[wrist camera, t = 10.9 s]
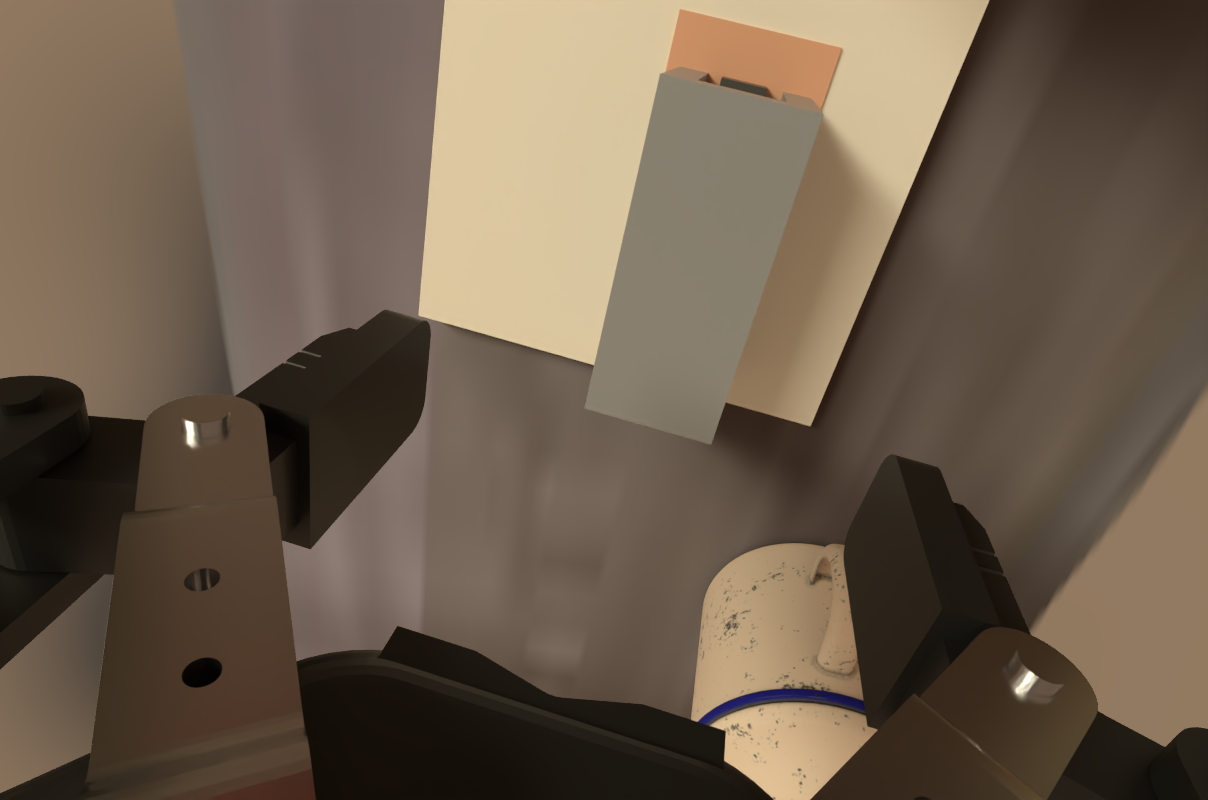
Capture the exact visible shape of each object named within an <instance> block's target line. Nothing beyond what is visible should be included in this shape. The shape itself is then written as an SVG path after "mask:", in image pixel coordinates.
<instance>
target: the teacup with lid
mask: <svg viewBox="0 0 1208 800" xmlns="http://www.w3.org/2000/svg"><path fill="white" fill-rule="evenodd" d="M844 547H845V545H841V544H829V545H827V546H826V547H824V546H819V545H813V544H804V543H784V544H775V545H770V546H765V547H761V548H758V549H755V550H752V551H750V552H747V553H745V554H743V555H741V556H739V557H737V558H736V559H734V560H733V561H731V562H730V563H729V564H727V565H726V566H725V567H724V568H723V569H722V570H721V571H720V572H719V573H718V574H717V575H716V577H715V578H714V579H713V581H712V582H711V584H710V586H709V588H708V590H707V593H706V596H705V599H704V604H703V612H702V622H701V631H700V640H699V650H698V659H697V669H696V678H695V688H694V697H693V706H692V716H691V720H693V721H696V722H699V723H702V724H705V725H709V726H712V727H715V728H718V729H721V730H724V731H726V737H725V754H724V761H725V762H727V763H729V764H730V765H732V766H734V767H735V768H737V769H738V770H739V771H741V772H742V773H743V774H745V775H746V776H747V777H749V778H750V779H751V780H753V781H754V782H755V783H756V784H757V785H759V786H760V787H761V788H762V789H763V790H764V791H765V792H766V793H767V794H769V795H770V796H771V797H772V798H773V799H774V800H810V799H811V798H812V797H813V796H814V795H815V794H816V793H817V792H818V791H819V790H820V789H821V788H822V787H823V786H824V785H825V784H826V783H827V782H828V781H829V780H830V779H831V778H832V777H833V776H834V775H835V774H836V772H837V771H838V770H839V769H840V768H841V767H842V766H843V765H844V764H845V763H846V762H847V761H848V760H849V759H850V758H851V757H852V756H853V755H854V754H855V753H856V752H857V751H858V750H859V749H860V748H861V747H862V746H863V745H864V744H865V743H866V742H867V741H868V739H869V738H870V737H871V736H872V735H873V734H874V733H875V732H876V731H877V729H874V728H871V727H868V726H867V721H866V714H865V707H864V700H863V693H862V686H861V679H860V672H859V665H858V658H857V651H856V644H855V637H854V630H853V623H852V616H851V610H850V603H849V596H848V589H847V582H846V575H845V568H844Z"/></svg>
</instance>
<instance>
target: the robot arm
mask: <svg viewBox="0 0 1208 800" xmlns="http://www.w3.org/2000/svg"><path fill="white" fill-rule="evenodd" d="M430 337H431V330H430V325H429V323H428V322H427V321H425V320H421V319H418V318H414V317H410V316H407V315H403V314H400V313H396V312H393V311H389V310H383V311H382V312H380V313H379V314H378V315H376V316H375V317H374V318H372V319H371V320H369V321H368V322H367V323H365V324H364V325H363V326H361V327H360V328H359V329H357V330H355V329H352V328H347V329H343V330H340V331H337V332H333V333H330V334H327V335H323V336H321V337H319V338H318V339H316V340H315V341H314V342H312V343H311V344H309V345H308V346H306V347H305V348H304V349H302V352H301V353H300V352H298V353H296V354H295V355H293V356H292V357H291V358H289V359H288V360H287V361H286V364H284V363H282V364H281V365H279V366H278V367H276V368H275V369H273V370H272V371H271V372H269V373H268V374H266V375H265V376H263V377H262V378H260V379H259V380H258V381H256V382H255V383H253V384H252V385H250V386H249V387H248V388H246V389H245V390H243V391H242V392H240V393H239V394H238V395H236V396H229V395H223V394H202V395H193V396H188V397H184V398H179V399H176V400H173V401H170V402H168V403H166V404H164V405H162V406H160V407H158V408H157V409H156V410H154V411H153V412H152V413H151V414H150V415H149V416H148V417H147V419H146V420H145V421H144V420H132V419H120V418H108V417H96V416H88V414H87V409H86V404H85V398H84V395H83V392H82V390H81V389H80V388H79V387H78V386H76V385H75V384H73V383H71V382H69V381H66V380H63V379H59V378H54V377H46V376H17V377H8V378H2V379H0V669H1V668H2V667H3V666H4V665H6V664H7V663H8V662H9V661H10V660H11V659H12V658H13V657H14V656H15V655H16V654H18V653H19V652H20V651H21V650H22V649H23V648H24V647H25V646H26V645H27V644H28V643H30V642H31V641H32V640H33V639H34V638H35V637H36V636H37V635H38V634H40V632H42V631H43V630H44V629H45V628H46V627H47V626H48V625H49V624H50V623H52V622H53V621H54V620H55V619H56V618H57V617H58V616H59V615H60V614H61V613H63V612H64V611H65V610H66V609H67V608H68V607H69V606H70V605H71V604H72V603H73V602H75V601H76V600H77V599H78V598H79V597H80V596H81V595H82V594H83V593H84V592H86V590H88V589H89V588H90V587H91V586H92V585H93V584H94V583H95V582H97V581H98V580H99V579H100V578H101V577H102V576H103V575H104V574H113V575H114V576H113V584H112V592H111V599H110V607H109V615H108V622H107V630H106V638H105V645H104V653H103V661H102V669H101V676H100V684H99V692H98V699H97V707H96V714H95V722H94V730H93V737H92V745H91V753H89V754H87V755H85V756H82V757H80V758H78V759H76V760H73V761H71V762H69V763H67V764H64V765H62V766H60V767H58V768H56V769H53V770H51V771H49V772H47V773H45V774H42V775H40V776H38V777H36V778H33V779H31V780H29V781H27V782H24V783H22V784H20V785H18V786H16V787H13V788H11V789H9V790H7V791H4V792H2V793H0V800H774V799H773V798H772V797H771V796H770V795H769V794H767V793H766V792H765V791H764V790H763V789H762V788H761V787H760V786H759V785H757V784H756V783H755V782H754V781H753V780H751V779H750V778H749V777H747V776H746V775H745V774H743V773H742V772H741V771H739V770H738V769H737V768H735V767H734V766H732V765H730V764H729V763H727V762H725V761H724V754H725V737H726V731H724V730H721V729H718V728H715V727H712V726H709V725H705V724H702V723H699V722H696V721H693V720H690V719H687V718H684V717H680V716H677V715H674V714H671V713H668V712H665V711H662V710H659V709H655V708H652V707H649V706H646V705H643V704H631V703H619V702H607V701H595V700H583V699H571V698H560V697H555V696H552V695H549V694H547V693H545V692H543V691H542V690H540V689H538V688H537V687H535V686H533V685H532V684H530V683H528V682H527V681H525V680H523V679H522V678H520V677H518V676H517V675H515V674H513V673H512V672H510V671H508V670H507V669H505V668H503V667H502V666H500V665H498V664H497V663H495V662H493V661H492V660H490V659H488V658H487V657H485V656H483V655H482V654H480V653H478V652H477V651H474V650H471V649H468V648H465V647H462V646H458V645H455V644H452V643H449V642H446V641H443V640H440V639H437V638H433V637H430V636H427V635H424V634H421V633H418V632H415V631H412V630H408V629H405V628H402V627H399V626H397V628H396V629H395V631H394V633H393V634H392V636H391V637H390V639H389V641H388V642H387V644H386V646H385V647H384V649H383V650H350V651H342V652H334V653H327V654H323V655H318V656H314V657H310V658H306V659H303V660H300V661H297V662H296V654H295V646H294V638H293V629H292V621H291V613H290V605H289V596H288V588H287V580H286V572H285V563H284V555H283V547H282V540H283V541H286V542H289V543H293V544H296V545H299V546H302V547H305V548H308V549H311V548H312V547H313V546H314V545H315V543H316V542H317V541H318V540H319V539H320V538H321V536H322V535H323V534H324V533H325V532H326V531H327V530H328V528H329V527H330V526H331V525H332V524H333V523H334V522H335V520H336V519H337V518H338V517H339V516H340V515H341V514H342V512H343V511H344V510H345V509H346V508H347V507H348V506H349V504H350V503H351V502H352V501H353V500H354V499H355V497H356V496H357V495H358V494H359V493H360V492H361V491H362V489H363V488H364V487H365V486H366V485H367V484H368V483H369V481H370V480H371V479H372V478H373V477H374V476H375V475H376V473H377V472H378V471H379V470H380V469H381V468H382V466H383V465H384V464H385V463H386V462H387V461H388V460H389V458H390V457H391V456H392V455H393V454H394V453H395V452H396V450H397V449H398V448H399V447H400V446H401V445H402V444H403V442H404V441H405V440H406V439H407V438H408V437H409V436H410V434H411V433H412V432H413V431H414V429H415V427H416V426H417V424H418V421H419V419H420V417H421V414H422V411H423V407H424V402H425V394H426V382H427V371H428V360H429V349H430ZM994 553H995V551H994V549H993V547H992V544H991V542H990V540H989V538H988V535H987V533H986V531H985V529H984V528H983V527H982V525H981V524H980V523H979V522H978V521H977V520H976V519H975V518H974V517H973V516H972V514H971V513H970V512H969V511H968V510H967V509H966V508H965V507H964V506H963V505H960V504H957V503H953V501H952V499H951V496H950V494H949V491H948V489H947V486H946V483H945V481H944V478H943V476H942V473H941V471H940V469H939V468H938V467H935V466H932V465H928V464H925V463H921V462H918V461H914V460H911V459H907V458H903V457H900V456H896V455H889V456H888V457H887V458H886V459H885V460H884V461H883V463H882V464H881V466H880V468H879V470H878V472H877V474H876V476H875V478H874V480H873V482H872V484H871V486H870V488H869V490H868V492H867V494H866V496H865V498H864V500H863V502H862V504H861V506H860V508H859V510H858V512H857V514H856V516H855V518H854V520H853V522H852V524H851V526H850V529H849V531H848V534H847V538H846V542H845V547H844V568H845V575H846V582H847V589H848V596H849V603H850V610H851V616H852V623H853V630H854V637H855V644H856V651H857V658H858V665H859V672H860V679H861V686H862V693H863V700H864V707H865V714H866V721H867V726H868V727H871V728H874V729H877V731H876V732H875V733H874V734H873V735H872V736H871V737H870V738H869V739H868V741H867V742H866V743H865V744H864V745H863V746H862V747H861V748H860V749H859V750H858V751H857V752H856V753H855V754H854V755H853V756H852V757H851V758H850V759H849V760H848V761H847V762H846V763H845V764H844V765H843V766H842V767H841V768H840V769H839V770H838V771H837V772H836V774H835V775H834V776H833V777H832V778H831V779H830V780H829V781H828V782H827V783H826V784H825V785H824V786H823V787H822V788H821V789H820V790H819V791H818V792H817V793H816V794H815V795H814V796H813V797H812V798H811V799H810V800H1208V729H1205V728H1198V727H1197V728H1196V727H1195V728H1187V729H1184V730H1183V731H1181V732H1180V733H1179V734H1178V735H1177V736H1176V737H1175V738H1174V739H1173V740H1172V741H1171V742H1170V743H1169V744H1168V745H1167V746H1166V747H1164V746H1161V745H1160V744H1158V743H1156V742H1154V741H1152V740H1150V739H1148V738H1147V737H1145V736H1143V735H1141V734H1139V733H1137V732H1135V731H1133V730H1132V729H1130V728H1128V727H1126V726H1124V725H1122V724H1120V723H1118V722H1116V721H1115V720H1113V719H1111V718H1109V717H1107V716H1105V715H1104V714H1102V713H1100V712H1099V711H1098V703H1097V699H1096V696H1095V694H1094V691H1093V689H1092V687H1091V686H1090V684H1089V682H1088V681H1087V679H1086V678H1085V677H1084V676H1083V674H1082V673H1081V672H1080V671H1079V670H1078V669H1077V668H1076V666H1075V665H1074V664H1073V663H1071V662H1070V661H1069V660H1068V659H1067V658H1066V657H1065V656H1064V655H1062V654H1061V653H1059V652H1058V651H1057V650H1056V649H1054V648H1052V647H1051V646H1050V645H1048V644H1047V643H1045V642H1043V641H1041V640H1040V639H1038V638H1036V637H1034V636H1032V635H1031V634H1030V632H1029V630H1028V627H1027V625H1026V623H1025V621H1024V618H1023V616H1022V614H1021V611H1020V609H1019V607H1018V604H1017V602H1016V600H1015V598H1014V595H1013V593H1012V591H1011V588H1010V586H1009V584H1008V581H1007V579H1006V577H1004V576H1002V574H1003V570H1002V568H1001V565H1000V563H999V561H998V558H997V557H995V556H994Z"/></svg>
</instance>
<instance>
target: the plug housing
mask: <svg viewBox="0 0 1208 800" xmlns="http://www.w3.org/2000/svg"><path fill="white" fill-rule="evenodd" d="M707 76H708V73H705V72H701V71H697V70H693V69H689V68H685V67H681V66H680V67H677V68H675V69H672V70H669V71H666V72H663V73H660V76H659V81H658V85H657V90H656V94H655V98H654V103H653V107H652V112H651V116H650V120H649V125H648V129H647V134H646V138H645V143H644V147H643V151H642V156H641V160H640V165H639V169H638V174H637V178H636V182H635V187H634V191H633V196H632V200H631V205H630V209H629V213H628V218H627V222H626V227H625V231H624V235H623V240H622V244H621V249H620V253H619V258H618V262H617V266H616V271H615V275H614V280H613V284H612V289H611V293H610V297H609V302H608V306H607V311H606V315H605V320H604V324H603V328H602V333H601V337H600V342H599V346H598V350H597V355H596V359H595V364H594V368H593V373H592V377H591V381H590V386H589V390H588V395H587V399H586V404H585V409H589V410H592V411H596V412H599V413H603V414H606V415H609V416H613V417H616V418H620V419H623V420H627V421H630V422H634V423H637V424H641V425H644V426H648V427H651V428H655V429H658V430H662V431H665V432H669V433H672V434H675V435H679V436H682V437H686V438H689V439H693V440H696V441H700V442H703V443H707V444H710V445H711V444H712V441H713V438H714V435H715V432H716V429H717V426H718V423H719V420H720V417H721V414H722V411H723V408H724V406H725V403H726V400H727V397H728V394H729V391H730V388H731V385H732V382H733V379H734V376H735V373H736V370H737V367H738V364H739V362H740V359H741V356H742V353H743V350H744V347H745V344H746V341H747V338H748V335H749V332H750V329H751V326H752V323H753V320H754V318H755V315H756V312H757V309H758V306H759V303H760V300H761V297H762V294H763V291H764V288H765V285H766V282H767V279H768V277H769V274H770V271H771V268H772V265H773V262H774V259H775V256H776V253H777V250H778V247H779V244H780V241H781V238H782V235H783V233H784V230H785V227H786V224H787V221H788V218H789V215H790V212H791V209H792V206H793V203H794V200H795V197H796V194H797V191H798V189H799V186H800V183H801V180H802V177H803V174H804V171H805V168H806V165H807V162H808V159H809V156H810V153H811V150H812V147H813V145H814V142H815V139H816V136H817V133H818V130H819V127H820V124H821V121H822V118H823V115H824V114H823V112H822V111H821V110H820V109H819V107H818V106H817V105H816V104H815V102H814V101H813V100H812V99H811V98H807V97H803V96H799V95H795V94H791V93H787V92H783V94H782V97H781V100H777V99H772V98H768V97H764V96H760V95H756V94H752V93H748V92H744V91H740V90H736V89H732V88H728V87H724V86H720V85H716V84H712V83H708V82H706V80H707Z"/></svg>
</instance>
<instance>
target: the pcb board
mask: <svg viewBox="0 0 1208 800" xmlns="http://www.w3.org/2000/svg"><path fill="white" fill-rule="evenodd" d="M988 3H989V0H445V6H444V18H443V30H442V42H441V54H440V66H439V77H438V89H437V101H436V113H435V125H434V137H433V149H432V161H431V173H430V185H429V197H428V209H427V221H426V233H425V245H424V257H423V269H422V281H421V293H420V305H419V316H422V317H426V318H429V319H433V320H437V321H440V322H444V323H447V324H451V325H454V326H458V327H461V328H465V329H468V330H472V331H475V332H479V333H482V334H486V335H489V336H493V337H497V338H500V339H504V340H507V341H511V342H514V343H518V344H521V345H525V346H528V347H532V348H535V349H539V350H542V351H546V352H549V353H553V354H557V355H560V356H564V357H567V358H571V359H574V360H578V361H581V362H585V363H588V364H592V365H594V364H595V359H596V355H597V350H598V346H599V342H600V337H601V333H602V328H603V324H604V320H605V315H606V311H607V306H608V302H609V297H610V293H611V289H612V284H613V280H614V275H615V271H616V266H617V262H618V258H619V253H620V249H621V244H622V240H623V235H624V231H625V227H626V222H627V218H628V213H629V209H630V205H631V200H632V196H633V191H634V187H635V182H636V178H637V174H638V169H639V165H640V160H641V156H642V151H643V147H644V143H645V138H646V134H647V129H648V125H649V120H650V116H651V112H652V107H653V103H654V98H655V94H656V90H657V85H658V81H659V76H660V73H663V72H666V71H669V70H672V69H675V68H677V67H680V66H681V67H685V68H689V69H693V70H697V71H701V72H705V73H708V76H707V80H706V82H708V83H712V84H716V85H720V82H721V78H722V77H723V76H725V77H729V78H733V79H737V80H741V81H745V82H749V83H753V84H757V85H761V86H765V87H767V91H766V94H765V97H768V98H772V99H777V100H781V97H782V94H783V92H787V93H791V94H795V95H799V96H803V97H807V98H811V99H812V100H813V101H814V102H815V104H816V105H817V106H818V107H819V109H820V110H821V111H822V112H823V114H824V115H823V118H822V121H821V124H820V127H819V130H818V133H817V136H816V139H815V142H814V145H813V147H812V150H811V153H810V156H809V159H808V162H807V165H806V168H805V171H804V174H803V177H802V180H801V183H800V186H799V189H798V191H797V194H796V197H795V200H794V203H793V206H792V209H791V212H790V215H789V218H788V221H787V224H786V227H785V230H784V233H783V235H782V238H781V241H780V244H779V247H778V250H777V253H776V256H775V259H774V262H773V265H772V268H771V271H770V274H769V277H768V279H767V282H766V285H765V288H764V291H763V294H762V297H761V300H760V303H759V306H758V309H757V312H756V315H755V318H754V320H753V323H752V326H751V329H750V332H749V335H748V338H747V341H746V344H745V347H744V350H743V353H742V356H741V359H740V362H739V364H738V367H737V370H736V373H735V376H734V379H733V382H732V385H731V388H730V391H729V394H728V397H727V400H726V403H730V404H733V405H737V406H740V407H744V408H747V409H751V410H754V411H758V412H761V413H765V414H768V415H772V416H775V417H779V418H783V419H786V420H790V421H793V422H797V423H800V424H804V425H807V426H811V424H812V422H813V419H814V417H815V415H816V412H817V410H818V407H819V405H820V403H821V400H822V398H823V396H824V393H825V391H826V388H827V386H828V384H829V381H830V379H831V376H832V374H833V372H834V369H835V367H836V365H837V362H838V360H839V357H840V355H841V353H842V350H843V348H844V346H845V343H846V341H847V338H848V336H849V334H850V331H851V329H852V326H853V324H854V322H855V319H856V317H857V315H858V312H859V310H860V307H861V305H862V303H863V300H864V298H865V296H866V293H867V291H868V288H869V286H870V284H871V281H872V279H873V276H874V274H875V272H876V269H877V267H878V265H879V262H880V260H881V257H882V255H883V253H884V250H885V248H886V246H887V243H888V241H889V238H890V236H891V234H892V231H893V229H894V226H895V224H896V222H897V219H898V217H899V215H900V212H901V210H902V207H903V205H904V203H905V200H906V198H907V195H908V193H909V191H910V188H911V186H912V184H913V181H914V179H915V176H916V174H917V172H918V169H919V167H920V165H921V162H922V160H923V157H924V155H925V153H926V150H927V148H928V145H929V143H930V141H931V138H932V136H933V134H934V131H935V129H936V126H937V124H938V122H939V119H940V117H941V115H942V112H943V110H944V107H945V105H946V103H947V100H948V98H949V95H950V93H951V91H952V88H953V86H954V84H955V81H956V79H957V76H958V74H959V72H960V69H961V67H962V65H963V62H964V60H965V57H966V55H967V53H968V50H969V48H970V45H971V43H972V41H973V38H974V36H975V34H976V31H977V29H978V26H979V24H980V22H981V19H982V17H983V14H984V12H985V10H986V7H987V5H988Z"/></svg>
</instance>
